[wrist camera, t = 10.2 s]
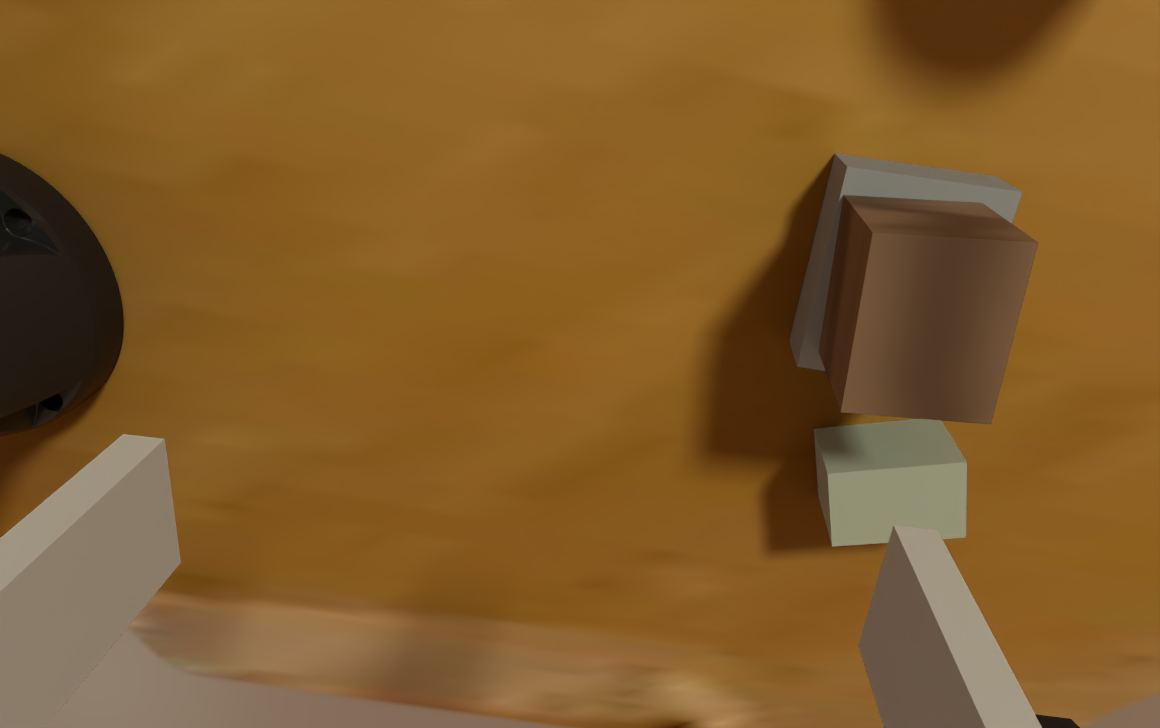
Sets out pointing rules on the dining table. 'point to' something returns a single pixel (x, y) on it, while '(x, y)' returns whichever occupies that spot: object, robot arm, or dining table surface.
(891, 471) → the sage block
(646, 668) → the dining table surface
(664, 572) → the dining table surface
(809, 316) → the grey slab
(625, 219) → the dining table surface
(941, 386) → the walnut block
